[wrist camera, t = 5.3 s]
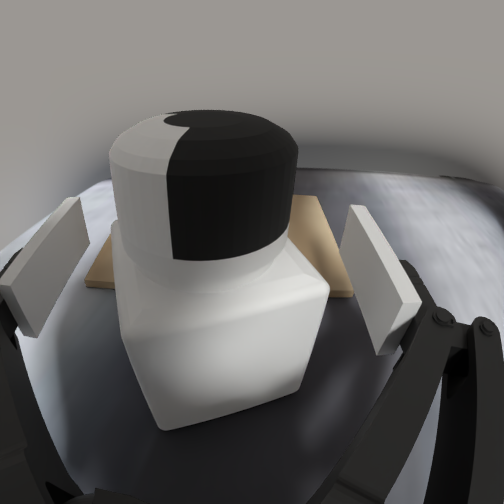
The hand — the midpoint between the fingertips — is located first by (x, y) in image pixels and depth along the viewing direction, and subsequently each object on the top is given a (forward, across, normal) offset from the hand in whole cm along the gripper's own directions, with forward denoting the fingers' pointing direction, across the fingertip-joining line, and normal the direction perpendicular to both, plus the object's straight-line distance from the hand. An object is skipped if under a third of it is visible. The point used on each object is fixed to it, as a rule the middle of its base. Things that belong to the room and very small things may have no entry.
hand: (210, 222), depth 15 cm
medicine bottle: (-3, 0, -7) cm, 7 cm away
